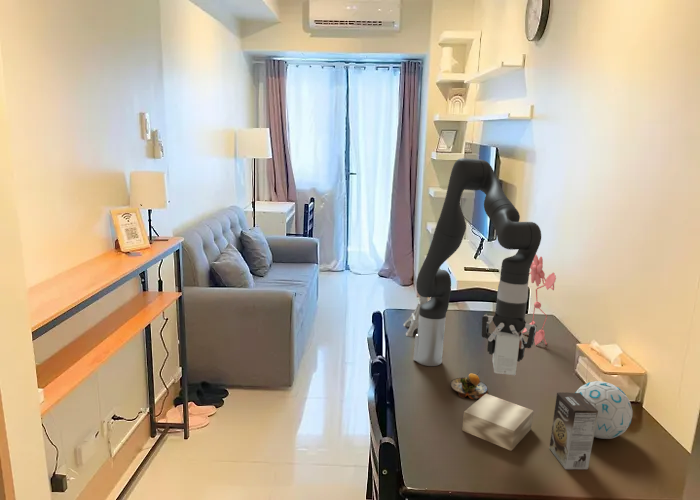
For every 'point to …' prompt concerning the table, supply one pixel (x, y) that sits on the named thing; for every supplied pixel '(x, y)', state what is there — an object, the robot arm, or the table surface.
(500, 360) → the small box
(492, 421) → the maple block
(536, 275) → the pink flower figurine
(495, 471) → the table surface
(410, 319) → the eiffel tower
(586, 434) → the coffee box
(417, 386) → the table surface
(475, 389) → the plate of food
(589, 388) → the white soccer ball
